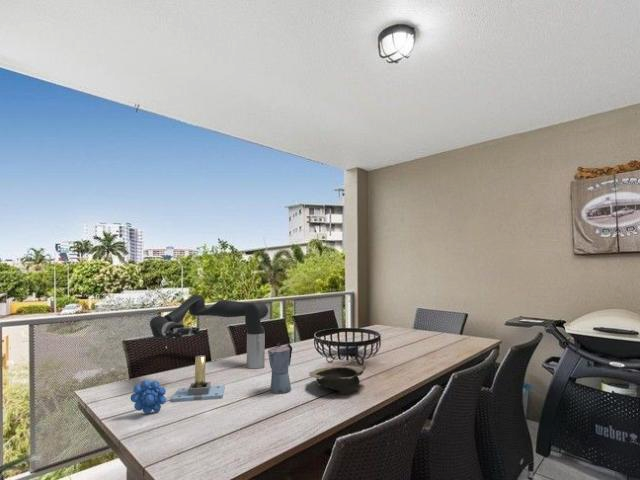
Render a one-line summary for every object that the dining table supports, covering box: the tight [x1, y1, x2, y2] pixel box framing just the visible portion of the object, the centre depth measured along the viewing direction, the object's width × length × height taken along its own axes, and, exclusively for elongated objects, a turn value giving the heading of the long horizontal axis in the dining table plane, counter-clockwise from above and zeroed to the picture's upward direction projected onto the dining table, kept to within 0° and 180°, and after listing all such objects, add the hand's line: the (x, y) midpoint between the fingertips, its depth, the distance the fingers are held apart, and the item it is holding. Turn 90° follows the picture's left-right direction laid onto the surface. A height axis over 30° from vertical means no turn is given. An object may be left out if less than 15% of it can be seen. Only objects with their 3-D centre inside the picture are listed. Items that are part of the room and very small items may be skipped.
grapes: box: [130, 379, 167, 415], centre depth 124 cm, size 12×7×12 cm, turn 120°
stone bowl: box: [308, 365, 367, 396], centre depth 152 cm, size 25×25×9 cm
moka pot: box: [267, 341, 293, 395], centre depth 150 cm, size 10×15×20 cm, turn 152°
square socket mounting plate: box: [171, 381, 226, 403], centre depth 144 cm, size 19×12×4 cm, turn 101°
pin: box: [194, 354, 207, 388], centre depth 144 cm, size 4×4×14 cm
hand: (189, 334), depth 152 cm, fingers open, 8 cm apart
